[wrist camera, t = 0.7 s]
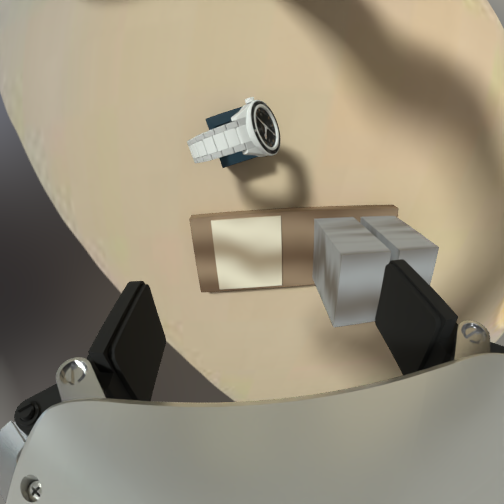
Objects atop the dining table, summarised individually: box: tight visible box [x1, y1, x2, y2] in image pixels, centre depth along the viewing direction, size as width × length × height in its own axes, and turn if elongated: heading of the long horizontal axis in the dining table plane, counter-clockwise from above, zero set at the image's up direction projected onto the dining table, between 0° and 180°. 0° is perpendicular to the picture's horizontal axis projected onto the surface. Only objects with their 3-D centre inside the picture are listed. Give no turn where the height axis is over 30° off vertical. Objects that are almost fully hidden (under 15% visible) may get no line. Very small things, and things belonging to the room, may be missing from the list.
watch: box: [187, 97, 280, 168], centre depth 24 cm, size 6×8×11 cm
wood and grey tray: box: [190, 205, 439, 327], centre depth 30 cm, size 10×26×12 cm, turn 93°
